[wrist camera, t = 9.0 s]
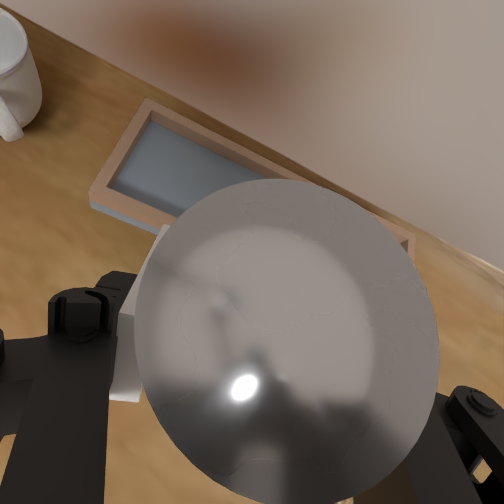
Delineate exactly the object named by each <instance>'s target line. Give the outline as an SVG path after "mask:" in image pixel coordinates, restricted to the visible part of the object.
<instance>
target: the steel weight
mask: <svg viewBox="0 0 504 504" xmlns="http://www.w3.org/2000/svg"><path fill="white" fill-rule="evenodd" d="M134 340H135V353H136V358H137V363H138V369H139V374H140V377H141V380H142V383H143V386H144V389H145V392H146V395H147V398H148V401H149V403H150V404H151V406H152V408H153V410H154V412H155V414H156V416H157V418H158V420H159V422H160V424H161V426H162V427H163V428H164V430H165V431H166V433H167V434H168V436H169V437H170V438H171V440H172V441H173V443H174V444H175V445H176V447H177V448H178V449H179V450H180V451H181V452H182V453H183V454H184V455H185V456H186V457H187V458H188V459H189V460H190V462H191V463H192V464H193V465H195V466H196V467H197V468H198V469H200V470H201V471H202V472H203V473H205V474H206V475H207V476H208V477H210V478H211V479H212V480H214V481H215V482H217V483H219V484H221V485H222V486H224V487H226V488H228V489H229V490H231V491H233V492H235V493H236V494H239V495H242V496H244V497H247V498H250V499H253V500H255V501H258V502H261V503H266V504H334V503H337V502H340V501H343V500H346V499H349V498H352V497H354V496H356V495H358V494H360V493H362V492H364V491H366V490H368V489H370V488H371V487H373V486H375V485H376V484H377V483H379V482H380V481H381V480H382V479H384V478H385V477H386V476H388V475H389V474H390V473H391V472H392V471H393V470H394V469H395V468H396V467H397V466H398V465H399V464H400V463H401V462H402V461H403V460H404V459H405V458H406V456H407V455H408V453H409V452H410V450H411V449H412V448H413V446H414V445H415V443H416V442H417V440H418V439H419V437H420V435H421V433H422V431H423V429H424V427H425V425H426V423H427V420H428V417H429V415H430V412H431V409H432V406H433V403H434V399H435V394H436V389H437V385H438V376H439V365H440V355H439V338H438V330H437V323H436V319H435V315H434V311H433V307H432V304H431V301H430V298H429V295H428V292H427V289H426V287H425V285H424V283H423V281H422V278H421V276H420V274H419V272H418V270H417V268H416V267H415V265H414V263H413V262H412V260H411V258H410V257H409V255H408V254H407V252H406V251H405V250H404V248H403V247H402V246H401V244H400V243H399V242H398V240H397V239H396V238H395V237H394V236H393V235H392V234H391V232H390V231H389V230H388V229H387V228H386V227H385V226H384V225H383V224H382V223H381V222H379V221H378V220H377V219H376V218H375V217H374V216H373V215H371V214H370V213H369V212H367V211H366V210H365V209H363V208H362V207H361V206H359V205H358V204H356V203H354V202H353V201H351V200H349V199H348V198H346V197H344V196H342V195H340V194H338V193H336V192H333V191H331V190H329V189H326V188H323V187H320V186H317V185H314V184H311V183H306V182H302V181H297V180H288V179H259V180H252V181H246V182H242V183H238V184H234V185H231V186H228V187H226V188H223V189H221V190H218V191H216V192H214V193H212V194H210V195H208V196H207V197H205V198H203V199H201V200H200V201H198V202H197V203H195V204H194V205H193V206H192V207H190V208H189V209H188V210H186V211H185V212H184V213H183V214H182V215H181V216H180V217H179V218H178V219H177V220H176V221H175V222H174V223H173V224H172V225H171V226H170V227H169V229H168V230H167V231H166V233H165V234H164V235H163V237H162V238H161V239H160V241H159V242H158V244H157V246H156V248H155V249H154V251H153V253H152V255H151V257H150V258H149V260H148V263H147V266H146V268H145V271H144V274H143V276H142V279H141V282H140V286H139V291H138V295H137V300H136V307H135V318H134Z"/></svg>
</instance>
